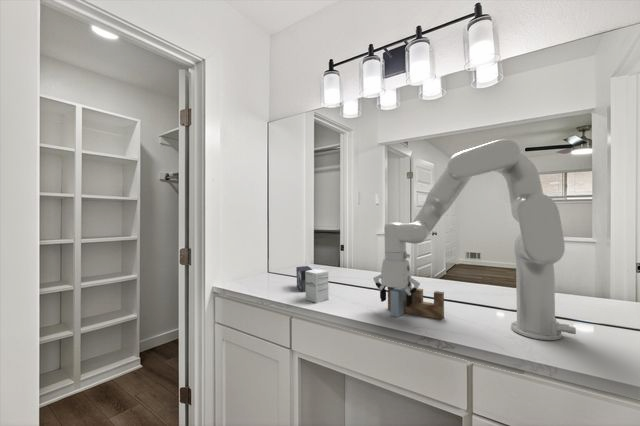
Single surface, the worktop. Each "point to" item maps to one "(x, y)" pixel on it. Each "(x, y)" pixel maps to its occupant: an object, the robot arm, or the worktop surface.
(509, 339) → the worktop surface
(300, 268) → the small box
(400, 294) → the crosspiece
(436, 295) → the notched board
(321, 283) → the supplement box
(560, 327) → the robot arm
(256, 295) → the worktop surface
